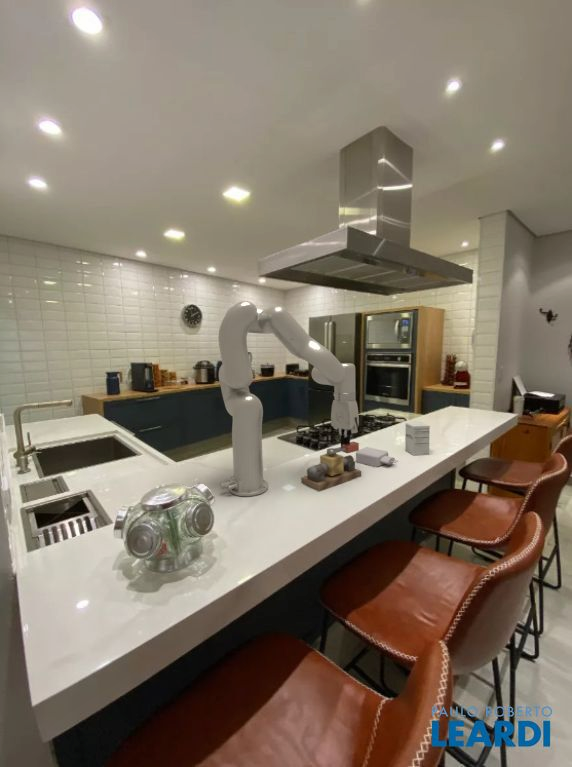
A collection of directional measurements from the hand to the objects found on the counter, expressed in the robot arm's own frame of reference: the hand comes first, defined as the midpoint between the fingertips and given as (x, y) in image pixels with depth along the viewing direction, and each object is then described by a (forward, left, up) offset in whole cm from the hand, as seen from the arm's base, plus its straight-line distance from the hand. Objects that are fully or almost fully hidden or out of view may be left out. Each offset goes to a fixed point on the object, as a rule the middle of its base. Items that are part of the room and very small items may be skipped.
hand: (345, 446), depth 120 cm
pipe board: (-10, -3, -9) cm, 14 cm away
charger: (+16, -3, -10) cm, 19 cm away
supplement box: (+39, -5, -9) cm, 41 cm away
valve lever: (-5, -3, -1) cm, 6 cm away
